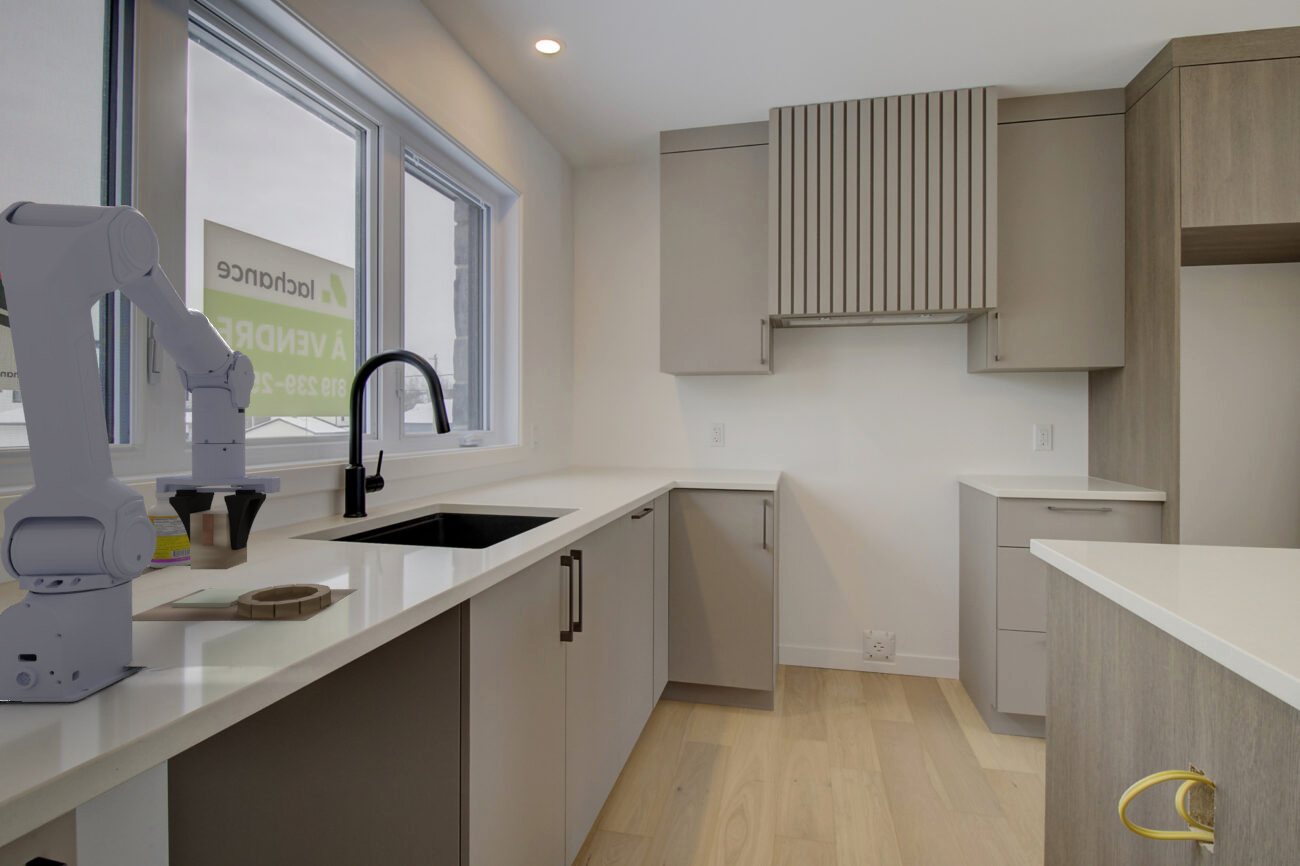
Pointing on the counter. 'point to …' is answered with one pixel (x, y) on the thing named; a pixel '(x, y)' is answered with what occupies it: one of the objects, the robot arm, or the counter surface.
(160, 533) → the supplement bottle
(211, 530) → the peg
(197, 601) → the sage pad
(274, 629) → the counter surface
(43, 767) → the counter surface
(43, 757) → the counter surface
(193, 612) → the base board
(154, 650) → the counter surface
